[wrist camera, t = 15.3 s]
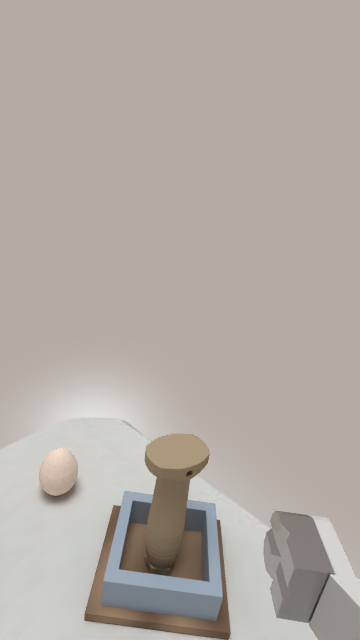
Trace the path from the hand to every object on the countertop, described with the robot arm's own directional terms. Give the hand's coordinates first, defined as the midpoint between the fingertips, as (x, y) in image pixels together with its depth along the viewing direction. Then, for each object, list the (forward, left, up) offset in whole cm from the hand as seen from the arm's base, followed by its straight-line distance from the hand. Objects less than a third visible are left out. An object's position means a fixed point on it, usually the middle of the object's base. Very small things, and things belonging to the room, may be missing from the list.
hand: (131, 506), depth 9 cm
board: (-3, -19, -30) cm, 36 cm away
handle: (-3, -18, -29) cm, 35 cm away
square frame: (-3, -19, -30) cm, 36 cm away
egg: (+12, -27, -30) cm, 42 cm away
